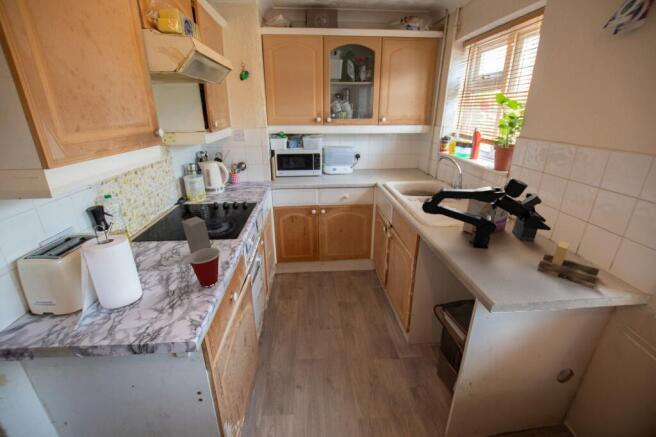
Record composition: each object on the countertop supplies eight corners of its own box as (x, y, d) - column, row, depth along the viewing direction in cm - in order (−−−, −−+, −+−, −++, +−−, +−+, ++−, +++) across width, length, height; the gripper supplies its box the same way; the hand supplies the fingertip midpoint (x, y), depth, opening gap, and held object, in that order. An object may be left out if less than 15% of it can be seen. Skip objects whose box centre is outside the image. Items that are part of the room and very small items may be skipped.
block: (550, 267, 113) (557, 246, 110) (553, 261, 117) (560, 240, 114) (559, 270, 111) (567, 248, 108) (562, 264, 115) (569, 243, 112)
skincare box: (213, 254, 125) (207, 220, 119) (196, 260, 120) (189, 225, 114) (204, 247, 130) (198, 215, 124) (188, 253, 125) (181, 219, 119)
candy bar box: (495, 226, 154) (503, 196, 147) (504, 229, 149) (512, 199, 143) (481, 230, 149) (488, 199, 142) (490, 233, 145) (498, 202, 138)
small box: (534, 242, 136) (541, 221, 132) (519, 241, 138) (525, 220, 134) (525, 232, 146) (531, 213, 142) (511, 231, 147) (516, 212, 143)
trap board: (537, 269, 114) (539, 261, 113) (543, 259, 122) (545, 252, 120) (593, 288, 103) (596, 279, 102) (596, 276, 111) (599, 267, 109)
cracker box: (472, 234, 143) (481, 194, 135) (461, 230, 148) (469, 190, 140) (489, 228, 150) (499, 189, 142) (479, 224, 154) (487, 186, 146)
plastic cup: (211, 271, 112) (206, 244, 108) (230, 279, 107) (226, 251, 103) (186, 286, 104) (179, 256, 99) (206, 295, 99) (200, 265, 94)
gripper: (528, 196, 111) (569, 217, 107) (521, 184, 126) (557, 202, 123) (508, 219, 116) (546, 240, 113) (504, 205, 132) (538, 222, 129)
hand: (547, 225), depth 119 cm, fingers open, 9 cm apart
